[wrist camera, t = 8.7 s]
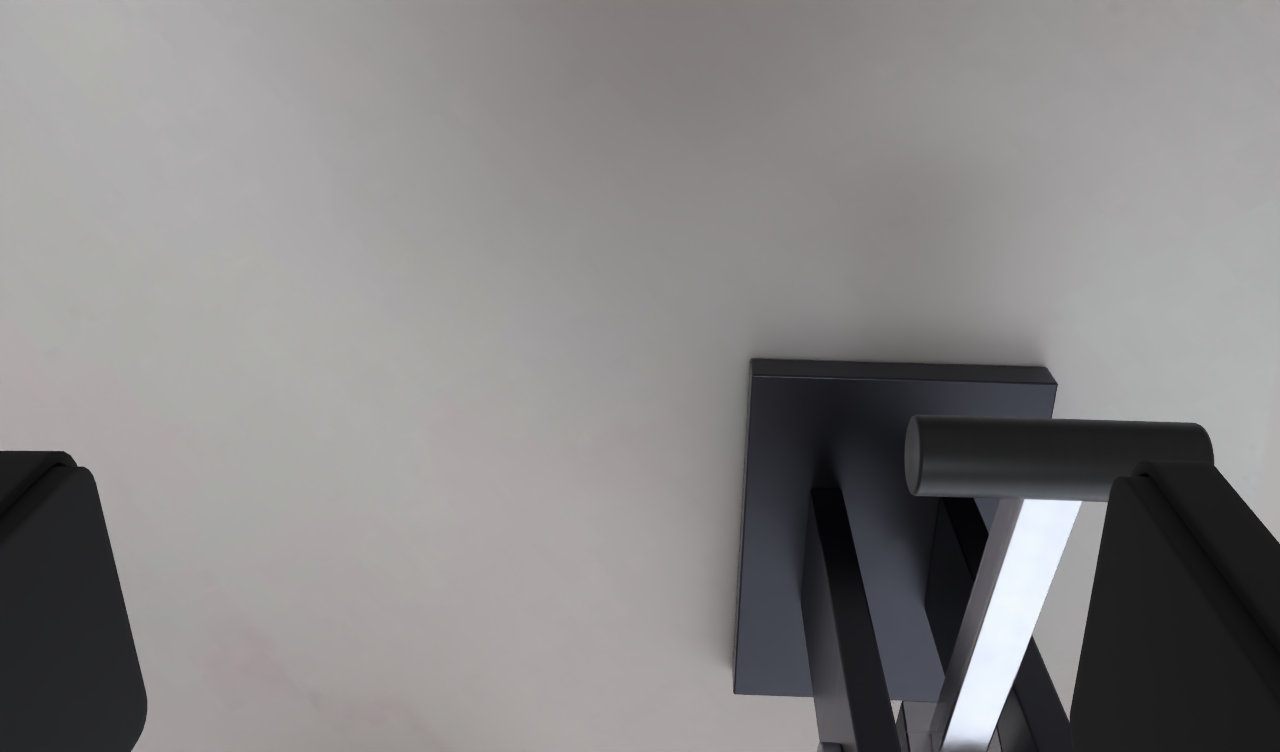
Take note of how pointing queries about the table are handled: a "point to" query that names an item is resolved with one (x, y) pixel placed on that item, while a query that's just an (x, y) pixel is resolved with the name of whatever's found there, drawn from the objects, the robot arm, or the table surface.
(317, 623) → the table surface
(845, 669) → the bracket
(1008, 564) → the lever
